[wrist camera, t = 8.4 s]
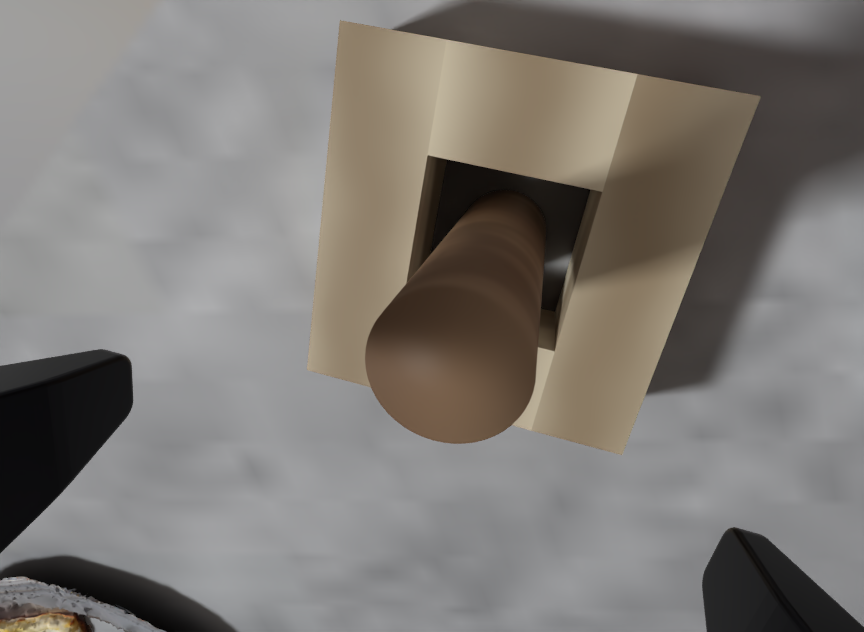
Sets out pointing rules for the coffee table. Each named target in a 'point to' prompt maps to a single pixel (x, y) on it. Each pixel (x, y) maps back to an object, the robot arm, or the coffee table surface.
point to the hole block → (535, 157)
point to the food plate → (57, 609)
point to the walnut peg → (465, 326)
